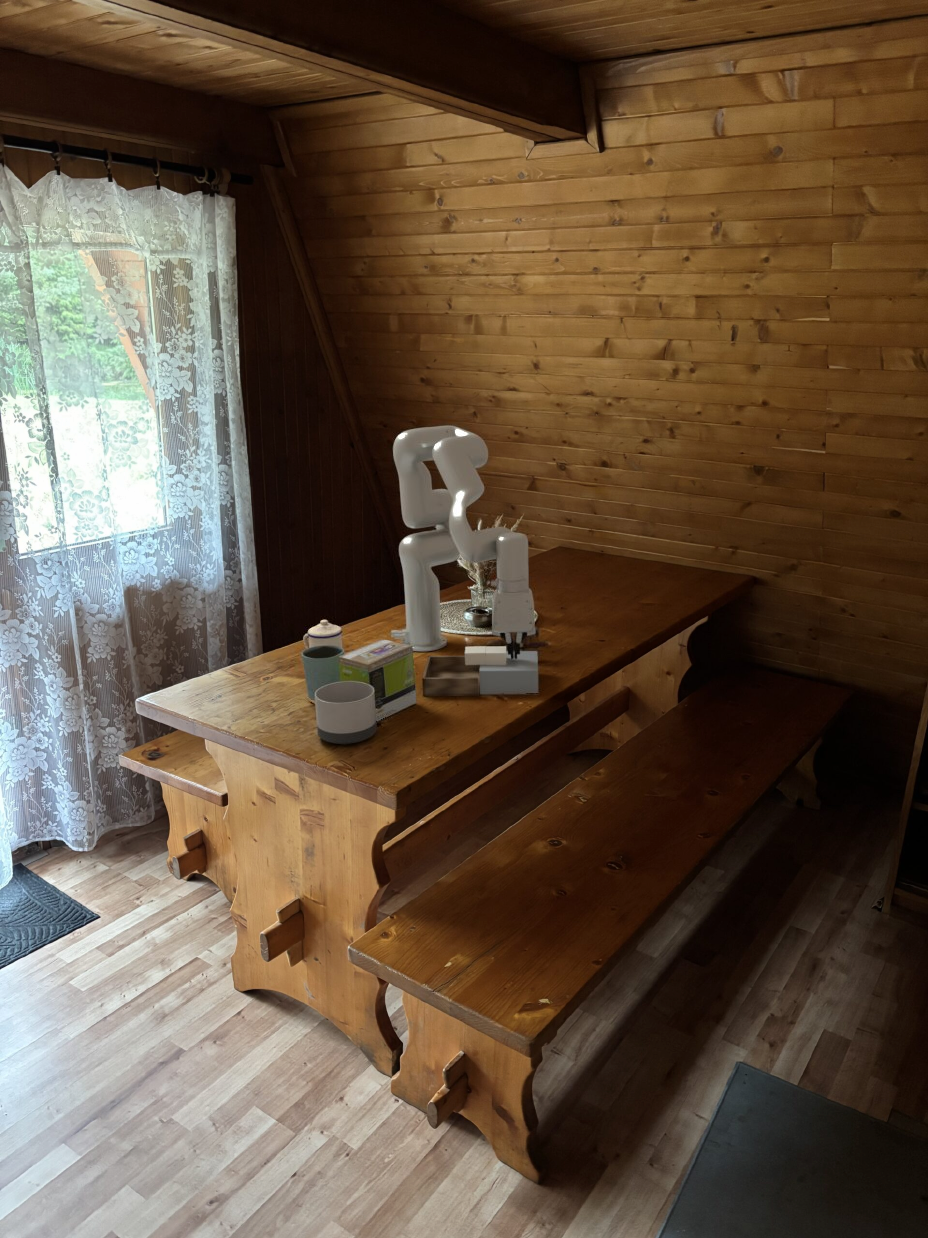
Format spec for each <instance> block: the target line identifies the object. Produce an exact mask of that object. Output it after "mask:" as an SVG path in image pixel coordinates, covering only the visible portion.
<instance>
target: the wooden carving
mask: <svg viewBox="0 0 928 1238" xmlns="http://www.w3.org/2000/svg"><path fill="white" fill-rule="evenodd" d="M535 630H536V633H535V634H533V635H529V636H526V637H525V638H524V639H523V640H522V641H521V643H520V651H537V657H538V658H539V657H540V656H542V655H543V651H542V650H541V649H540V648H545V647H548V646H549V644H550V643H549V642H548V641H540V639H539V635H540V632H539V629H538V627H537V626H535ZM516 635H517V632H515V633H511V638H513V644H514V641H515V638H516ZM499 637H500V638H501V639H492V640H490V641H488V642H486V645H485V646H486V647H488V646H506V651H508V643H507V642H506V641H505V640H504V639H503V638H502V637H501V636H499Z"/></svg>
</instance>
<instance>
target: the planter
mask: <svg viewBox="0 0 928 1238" xmlns="http://www.w3.org/2000/svg"><path fill="white" fill-rule="evenodd" d="M314 705H315V714H316V715H315V717H316V728H317V730H316V731H317V736H318V738H320V740H323V741H325V742H326V743H330V744H331V743H332V744H337V745H352V744H351V743H353V744H356V743H361V742H363V741H366V740H367V739H370V738H371V737H372V736H374V735H375V734H376V733H377V728H378V725H377V722H376V707H375V690H374V688H373V687H372V686H371V685H369V684H367V683H363V682H356V681H344V682H336V683H331V684H328V685H325V686H323V687H321V688H319V689H318V690H317V691H316V692H315V704H314Z"/></svg>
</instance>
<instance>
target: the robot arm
mask: <svg viewBox="0 0 928 1238" xmlns="http://www.w3.org/2000/svg"><path fill="white" fill-rule="evenodd" d="M392 452H393V461H394V464H395V467H396V471H397V475H398V481H399V492H400V493H399V494H400V506H401V515H402V521H403V523H404V525H405V526H406V527H407V528H410V529H423V528H428V527H434V526H435V527H436V529H432V530H427V531H421V532H416V533H412V534H409V535H407V536H405V537H404V538H403V539H402V540H401V541H400V542H399V545H398V556H399V558H400V563H401V567H402V574H403V585H404V588H403V589H404V603H405V622H406V623H405V624H406V627H405V628H402V630H399V629H394V630H393V629H391V631H390V636H391V638H394V640H401V639H402V640H401V644H406V645H410V646H412V647H413V652H431V651H437V650H440V649H442V648H445V646H447V644H448V641H447V640H448V639H447V638H446V637H445V636H443V635H442V630H441V629H442V627H441V601H440V598H441V597H440V583H439V579H438V577H437V575H435V573H434V571H433V570H432V567H436V566H439V565H444V564H448V563H452V562H455V561H457V560H458V558H459V557H460V556H461V557H462V558H463V560H465V561H466V562H468V563H471V564H477V563H482V562H485V561H490V560H496V578H495V579H493V580H490V586H491V587H495V588H496V589H494V591H493V595H492V596H493V597H492V607H491V608H492V610H491V612H492V615H491V624H492V626H491V634H492V635H493V636H496V637H497V636H498V637H500V636H501V637H502V638H503V639H504V640H505V641H506V642H507V643H508V655H511V659H513V658H515V659H517V654H520V643H521V641H522V640H523V639H524V638H525V637H526V636H529V635H533V634H535V633H536V630H535V627H536V624H535V621H536V620H535V618H536V617H535V603H534V596H533V591H532V589H531V588H530V587H529V540H528V537H527V535H525V533H523V532H522V533H521V532H514V531H512V530H511V529H509V528H507V527H504V526H497V527H490V528H484V529H479V530H474V531H473V529H472V527H471V526H470V523H469V521H468V519H467V515H466V514H467V512H466V511H467V508H468V507H469V506H470V505H471V504H473V503H475V502H476V501H477V500H478V499H480V497H481V496H482V495H483V493H484V492H485V486H484V483H483V481H482V479H481V477H480V475H479V473H478V471H477V468H482V467H483V466H484V465H486V463H487V461H488V459H489V450H488V446H487V444H486V443H485V441H484V439H483V438H482V437H480V436H479V435H478V434H476V433H474V432H472V431H469V430H466V429H464V428H460V427H458V426H455V425H438V426H430V427H429V426H426V427H425V426H424V427H418V428H413V429H411V428H410V429H407V430H403V431H402V432H401V433H399V434H398V435H397V436H396V438H395V440H394V442H393V446H392ZM426 461H427V462H428V461H434V464H435V466H436V468H437V470H438V472H439V474H440V476H441V479H442V481H443V482H444V485H445V487H446V489H445V488H437V489H433V487H432V486H433V485H432V475H431V473H430V470H429V469H428V467H427V466H426V465H425V463H424V462H426ZM451 540H452V541H451ZM515 632H517V635H516V638H515V641H514V644H513V638H511V633H515ZM501 637H500V638H501ZM502 638H501V639H502Z"/></svg>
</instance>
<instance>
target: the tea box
mask: <svg viewBox="0 0 928 1238" xmlns="http://www.w3.org/2000/svg"><path fill="white" fill-rule="evenodd" d="M339 669H340V680H341V682H344V681H356V682H363V683H367V684H369V685H371V686H372V687H373V688H374V690H375V707H376V721H377V722H379V721H382V720H383V718H384V719H386V718H387V717H389V716H392V715H394V714H395V713H398V712H400V711H403V710H404V709H407V708H409V707H410V706H412V705H415V704H417V701H418V700H417V690H416V673H415V662H414V651H413V647H412V646H410V645H406V644H402V642H401V643H400V642H396V641H392V640H387V639H384V638H381V639H379V640H377V641H375V642H372V643H370V644H367V645H364V646H362V647H358V648H356V649H354V650H352V651H348V652H346V653H344V655H341V656H339ZM385 717H386V718H385ZM381 719H382V720H381Z"/></svg>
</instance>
